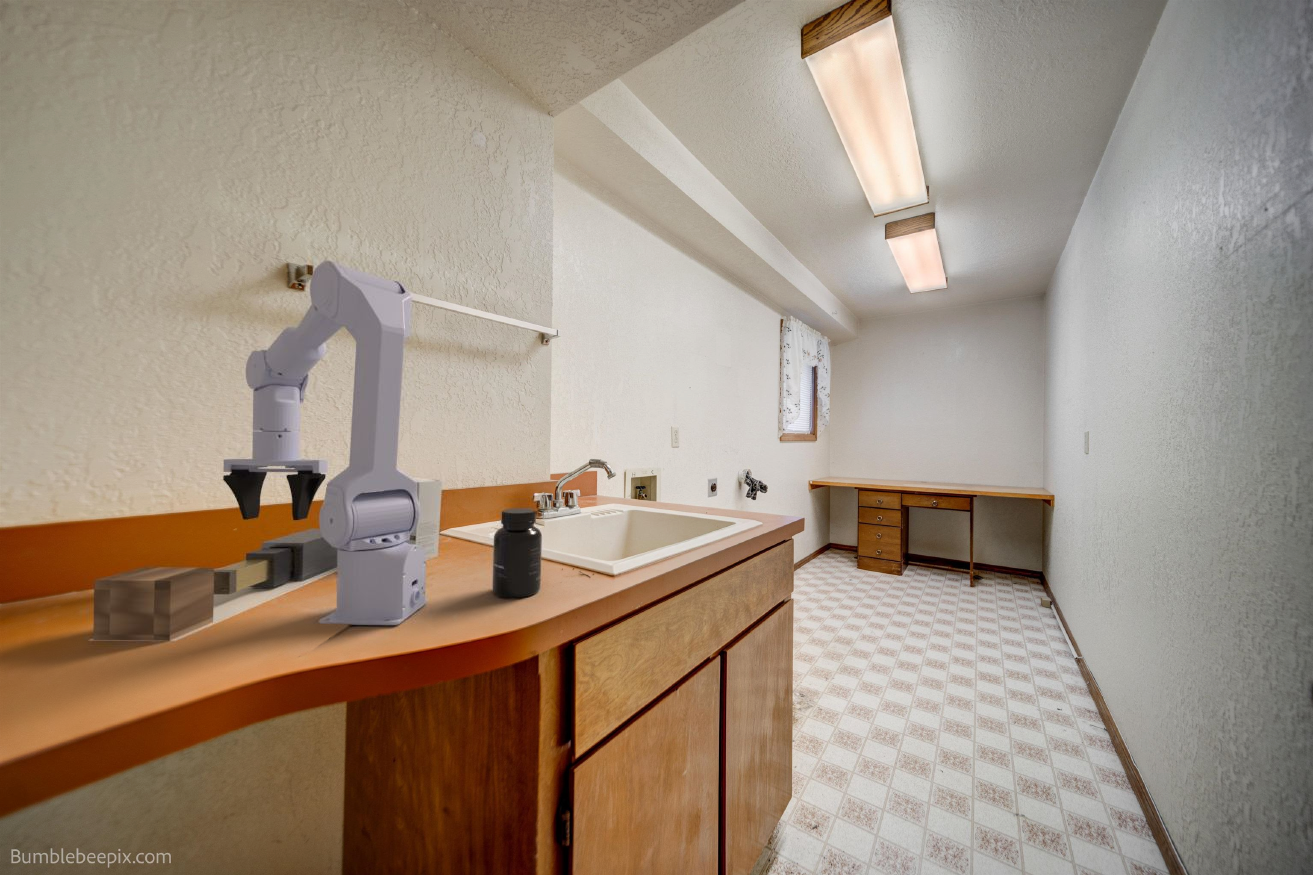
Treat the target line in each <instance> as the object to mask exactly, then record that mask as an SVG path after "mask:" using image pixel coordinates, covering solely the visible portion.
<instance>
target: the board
mask: <svg viewBox="0 0 1313 875" xmlns="http://www.w3.org/2000/svg"><path fill="white" fill-rule="evenodd" d="M335 572H336V573H337V567H336V568H334V569H331V570H329V571H326V572H324V573H322V574H319V575H317V576H314V577H312V578H310V579H307V580H305V581H288V582H286V583H283V584H281V585H278V586H276V587H247V588H244V589H241V590H239V591H236V592H235V593H232V594H229V595H228V594H214V603H213V622H212V623H210V624H208V625H205V626H203V627H201V628H198V629H196V630H194V631H191V632H189V633H187V634H184V635H182V636H180V637H177V638H175V639H173V640H170V641H169V642H177V641H178V640H181V639H182V638H185V637H188V636H190V635H193V634H195V633H197V632H199V631H201V630H205V629H206V628H208V627H211V626H213V625H216V624H217V623H220V622H222V621H225V620H227V619H230V618H231V617H234V616H236V615H238V614H241V613H244V612H245V611H249V610H250V609H252V608H255V607H258V606H260V605H262V604H264V603H267V602H268V601H271V600H274V599H275V598H278V597H280V596H282V595H284V594H287V593H289V592H292V591H294V590H296V589H299V588H301V587H304V586H305V585H308V584H311V583H313V582H315V581H317V580H320V579H322V578H324V577H326V576H330V575H331V574H333V573H335ZM88 641H89V642H90V641H91V642H92V641H94V642H95V641H96V642H98V641H99V642H101V641H102V642H105V641H106V642H108V641H109V642H110V641H112V642H114V641H115V642H122V641H123V642H124V641H125V642H144V641H143V640H93V638H91V639H88Z"/></svg>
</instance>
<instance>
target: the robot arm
mask: <svg viewBox="0 0 1313 875" xmlns="http://www.w3.org/2000/svg"><path fill="white" fill-rule="evenodd" d="M309 293H310V294H309V295H310V300H311V301H310V302H311V305H310V306H309V308H308V310H307V311H306V313H305V315H304V316H303V318H302V319H301V321H300V323H299V324H298V325H292V326H287V327H285V328H284V329H283V330H282V331H281V333H280V334H279V335H278V336H277V337H276V338H275V340H274V341H273V342H272V343H271V345H270V346H269V347H268V349H260V350H252V351H251V353H250V354H249V356H248V358H247V361H246V363H245V364H246V365H245V379H246V383H247V386H248V387H249V388H250V389H251V390H252V453H251V454H252V455H251V456H252V457H251V458H230V459H229V458H228V459H227V458H226V459H223V469H222V470H223V473H224V472H225V473H229V474H225V475H223V476H222V478H223V479H222V480H223V481H224V482H225V484H226V485H227V486H228V488H229V489H230V490H231V492H232V493H233V495H234V498H235V500H236V502H237V504H238V507H239V510H240V514H241V516H242V517H241V518H242V519H243V520H245V521H247V520H252V519H258V518H259V517H260V516H259V515H260V511H261V509H260V508H261V495H262V490H263V485H264V482H265V479H266V477H267V475H268V474H267V473H293V474H286V477H285V478H286V480H287V482H288V485H289V489H290V493H291V513H292V521H301V520H305V519H308V516H309V512H310V509H311V506H312V503H313V500H314V498H315V496H316V494H317V492H318V490H319V489H320V487H321V485H322V484H323V482H324V480H325V479H326V477H327V476H326V473H328V470H329V467H328V466H329V465H328V464H329V460H328V459H305V458H302V459H301V457H300V455H301V454H300V451H301V450H300V448H301V444H300V443H301V440H300V439H301V404H302V403H305V402H304V401H305V399H306V398H305V396H306V395H305V394H306V393H305V392H306V389H307V387H308V383H309V378H310V375H309V372H311V370H312V369H313V368H314V367H315V366H316V365H317V364H318V363H319V362H320V361H321V360H322V359H323V357H325V355H326V353H327V346H326V342H327V341H328V340H329V339H331V338H332V337H333V336H335V334H337V333H338V332H339V331H340V330H341V329H343V328H345V330H347V331H348V333H349V334H350V336H352V337H353V339H354V340H355V343H356V344H355V361H354V377H353V378H354V379H353V391H352V392H353V393H352V395H353V396H352V413H351V426H350V427H351V428H350V429H351V431H350V432H351V433H350V442H349V443H350V447H349V461H348V463H349V465H348V466H347V467H346V468H345V469H344V470H342V471H341V472H339V474H337V475H336V476H334V477H333V478H331V479H330V480H329V481H328V482H327V483H326V489H325V494H324V498H323V503H322V505H321V507H320V510H319V514H318V518H319V519H318V522H319V523H318V524H319V529H320V530H321V533H322V536H323V537H324V539H325V540H326V541H327V542H328V543H329V544H330V545H331V546H332V547H335V548H337V571H336V607H335V609H336V610H335V611H333V612H331V613H329V614H327V615H326V616H324V617H322V618H321V619H318V624H328V625H329V624H331V625H332V624H341V625H342V624H344V625H345V624H346V625H347V624H349V625H351V626H356V625H357V626H397V625H400V624H401V623H402V622H404V621H405V620H406V619H408V618H409V617H411V616H412V615H413V614H414V613H416V612H418V610H420V609H421V608H422V607H424V606H425V605H426V604H428V602H429V600H428V598H426V578H427V577H426V574H427V569H426V566H427V562H426V561H427V560H426V557H425V552H424V550H423V548H422V547H421V546H419V545H413V544H408V543H406V542H404V541H407V540H410V533H412V532H413V531H414V530H415V528H416V526H417V524H418V522H419V518H420V505H419V502H418V498H417V483H416V481H415V480H413V479H412V478H413V477H412V478H411V476H410V475H408V474H407V473H406V472H404V471H403V470H402V469H400V468H399V467H398V466H397V465H398V463H397V461H398V448H399V437H400V436H399V433H400V419H401V418H400V417H401V404H402V403H401V401H402V388H403V386H402V382H403V370H404V368H403V367H404V355H405V354H404V353H405V352H404V351H405V340H406V339H407V340H408V339H409V338H410V337H411V323H412V309H413V308H412V307H413V294H412V293H411V292H410V291H409V290H408V288H407V287H406V286H405V285H404V284H403V283H402V282H400V281H397V280H391V279H388V278H385V277H381V276H377V275H374V274H372V273H367V272H364V271H361V270H359V269H356V268H355V269H354V268H350V267H349V266H348V267H347V266H344V265H341V264H338V263H336V262H335V261H331V260H325V261H323V262H321V263H320V264H318V265H317V266H316V268H315V269H314V270H313V273H312V274H311V278H310V284H309ZM268 467H285V468H268ZM384 490H387V491H384Z"/></svg>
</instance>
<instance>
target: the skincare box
mask: <svg viewBox="0 0 1313 875" xmlns="http://www.w3.org/2000/svg"><path fill="white" fill-rule="evenodd" d="M410 477H411V476H410ZM411 478H412V479H413V480H415V481H416V483H417V498H418V502H419V505H420V518H419V522H418V524H417V526H416V528H415V530H414V531H413V532H412V533H410V540H407V541H404V542H406V543H408V544H413V545H419V546H421V547H422V548H423V550H424V552H425V557H426V561H428V560H429V559H433V558H434V559H435V558H436V557H438V556H439V540H440V525H441V524H440V523H441V521H440V520H441V510H442V509H441V508H442V506H441V505H442V491H443V490H442V489H443V480H440V479H431V478H425V477H424V478H423V477H413V476H412V477H411ZM383 491H387V490H383Z"/></svg>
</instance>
